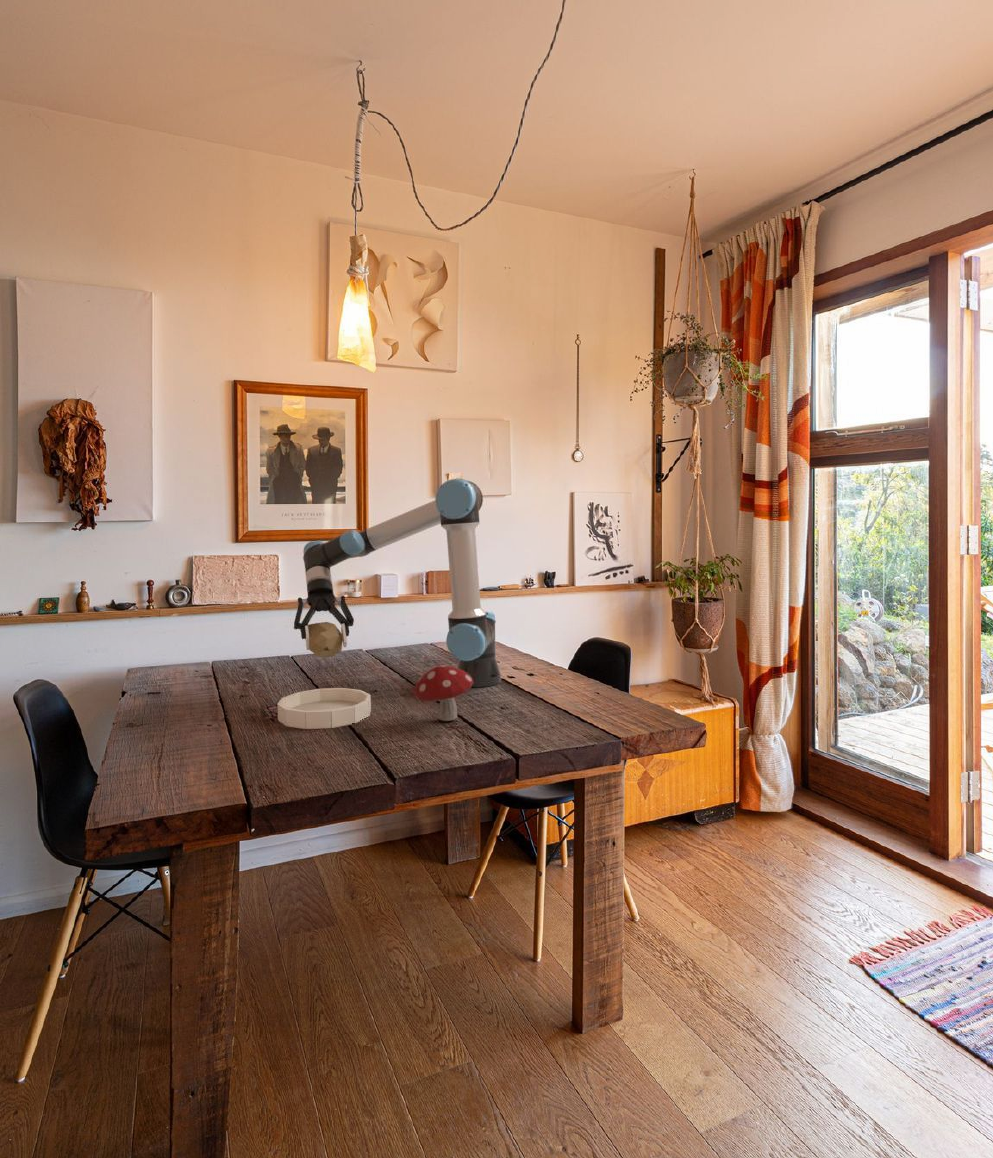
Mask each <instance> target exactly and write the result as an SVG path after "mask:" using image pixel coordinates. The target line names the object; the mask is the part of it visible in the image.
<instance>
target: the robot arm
mask: <svg viewBox="0 0 993 1158" xmlns="http://www.w3.org/2000/svg"><path fill="white" fill-rule="evenodd" d="M483 502H484V496H483V493H482V491H481V489H480V487H479V486H478V485H477V484H476V483H475V482H472V481H470V480H466V479H463V478H451V479H449V480H446V481H444V482H443V483H442V484H441V485H440V486H439V487H438V489H437V491H436V493H435V499H434V500H432V501H430V502H427V503H425V504H423V505H421V506H418V507H416V508H413V509H411V510H409V511H405V512H404V513H402V514H399V515H397V516H394V517H391V518H390V519H388V520H385V521H382V522H380V523H378V524H375V525H373V526H371V527H368V528H367V529H364V530H361V531H359V532H358V531H357V530H355V529H350V530H348V531H345V532H342V534H339V535H338V536H336V537H334V538H332V539H330V540H328V541H326V542H324V541H321V540H315V541H309V542H307V543H306V544H305V545H304V547H303V557H302V558H303V563H304V571H305V582H306V591H307V598H302V597H297V610H296V614H295V619H294V622H293V629H294V630H299V631H300V638H301V640H305V647H306V651H310V650H309V631H308V626H307V625H309V623H310V622H311V620H312V618H313V616H314V615H315V613H316V612H328V613H329V614H331V615H332V616H333V617H334V618H335V619H336V621H338V623H339V624H340V626H341V627H340V632H341V633H342V639H343V642H342V648H347V645H348V639H347V637H349V635H350V627H353V626H354V623H355V619H354V617H353V614H352V613H351V610H350V609H349V607H348V604H347V602H346V596H344V595H341V596H340V597H336V596H335V594H334V586H333V579H332V573H331V568H332V567H334V566H336V565H338V564H340V563H342V562H344V561H347V560H348V559H349V560H350V559H354V558H362V557H366V556H368V555H369V554H371V553H374V552H376V551H378V550H379V549H382V548H384V547H387V546H389V545H391V544H395V543H397V542H400V541H402V540H405V539H406V538H409V537H411V536H414V535H416V534H419V533H421V532H423V531H426V530H428V529H430V528H433V527H435V526H439V525H440V527H441V528H442V529H444V530H445V531H446V543H447V544H446V545H447V553H448V554H447V557H448V570H449V581H450V582H449V583H450V592H451V593H450V595H451V607H452V610H451V612H449V614H448V616H447V622H448V624H447V625H448V632H447V636H446V639H445V642H446V647H447V650H448V651H449V653H450V654H451V655H452V656H453V657H454V658H455V659H457V660H458V663H457V666H456V668H459V669H461V670H463V671H465V672H467V673H468V674H469V675H470V676H471V677H472V679H473V681H474V683H473V685H472V686H471V688H473V687H474V688H483V687H484V688H485V687H491V686H492V687H493V686H495V685H499V684H500V683H501V682H502V674H501V671H500V669H499V665H498V661H497V659H496V622H497V621H496V616H495V613H494V612H492V611H485V610H483V609H482V608H481V607H482V606H481V596H480V595H481V593H480V592H481V591H480V578H479V569H478V568H479V567H478V566H479V565H478V552H477V542H476V541H477V539H476V538H477V537H476V529H477V527H478V526H479V524H481V523H480V510H481V508H482V506H483ZM335 603H337V604H338V606H340V609H341V611H342V612H341V611H340V610H339V609H338V608H337V606H336V605H335ZM306 604H307V605H308V606H309V609H308V610H307V612H306V614H305V616H304V618H303V619H302V621H301V618H302V613H303V608H305V607H306ZM342 613H343V614H342Z"/></svg>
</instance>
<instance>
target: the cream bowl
mask: <svg viewBox="0 0 993 1158" xmlns="http://www.w3.org/2000/svg"><path fill="white" fill-rule="evenodd" d="M371 700H372V695H371V694H370V693H367V692H366V691H363V690H362V689H356V688H344V687H333V688H329V687H328V688H315V689H309V690H304V691H297V692H294V693H292V694H289V695H287V696H283V697H281V699H280V700H279V701H278V703H277V704H276V705H277V721H279V722H280V723H281V724H282V725H284V726H285V727H290V728H297V729H302V730H303V729H305V730H314V729H316V730H317V729H334V728H339V727H343V726H351V725H353V724H352V723H355V724H357V723H360V722H361V721H363V720H365V719H364V718H366V717H368V716H369V717H370V715H371V712H372V701H371ZM369 717H368V718H369ZM362 719H363V720H362ZM366 719H367V718H366ZM360 720H361V721H360Z"/></svg>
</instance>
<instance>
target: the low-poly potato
mask: <svg viewBox="0 0 993 1158" xmlns="http://www.w3.org/2000/svg"><path fill="white" fill-rule="evenodd" d="M307 626H308V631H309V650H308V651H310V652H311V653H313V655H314V656H315V657H318V658H322V659H327V658H329V657H334V656H336V655H337V654H339V653H341V652H342V650H343V639H342V632H341V630H340V629H339V628H338V627H337V625H336V624H335V623H332V622H328V621H322V622H315V623H311V624H309V623H308V625H307Z"/></svg>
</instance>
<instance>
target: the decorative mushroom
mask: <svg viewBox="0 0 993 1158" xmlns="http://www.w3.org/2000/svg"><path fill="white" fill-rule="evenodd" d="M473 683H474V681H473V679H472V677H471V676H470V675H469V674H468V673H467V672H465V671H463V670H461V669H459V668H457V666H451V665H437V666H435V667H432V668H431V669H430V670H428V671H427V672H425V673H424V674H422V675H421V676H420V678H419V679H418V680H417V681H416V683H415V685H414V687H413V694H414V696H415V698H416V699H419V700H420V701H427V702H436V701H439V705H438V708H437V709H438V711H437V715H438V716H437V719H438V720H440V721H443V722H449V721H454V720H456V719H457V718H458V707H457V706H458V705H457V703H456V700H455V697H458V696H461V695H464V694H465V693H466V692H468V691H469V690H470V689H471V688H472V687H471V686H472V685H473Z"/></svg>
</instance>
